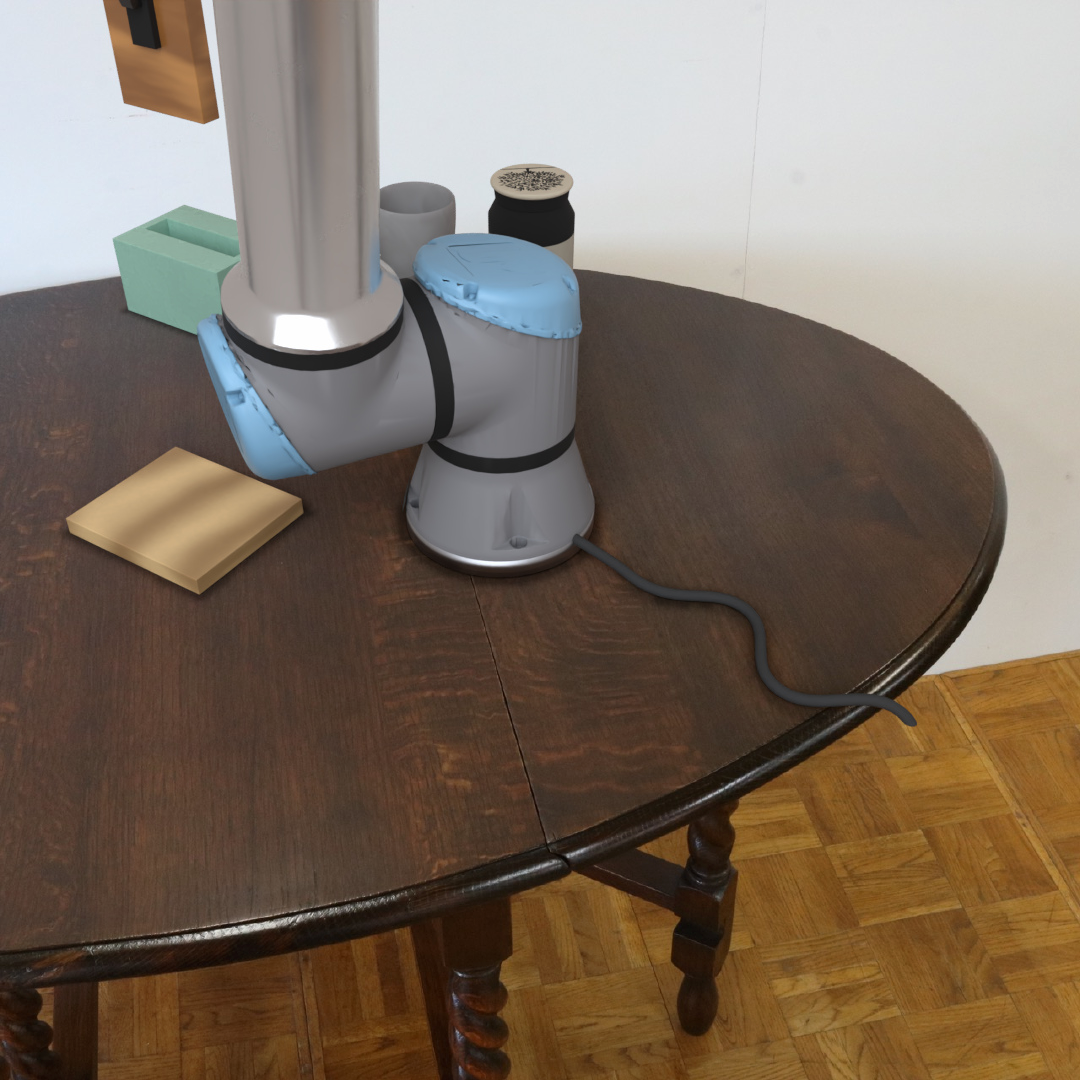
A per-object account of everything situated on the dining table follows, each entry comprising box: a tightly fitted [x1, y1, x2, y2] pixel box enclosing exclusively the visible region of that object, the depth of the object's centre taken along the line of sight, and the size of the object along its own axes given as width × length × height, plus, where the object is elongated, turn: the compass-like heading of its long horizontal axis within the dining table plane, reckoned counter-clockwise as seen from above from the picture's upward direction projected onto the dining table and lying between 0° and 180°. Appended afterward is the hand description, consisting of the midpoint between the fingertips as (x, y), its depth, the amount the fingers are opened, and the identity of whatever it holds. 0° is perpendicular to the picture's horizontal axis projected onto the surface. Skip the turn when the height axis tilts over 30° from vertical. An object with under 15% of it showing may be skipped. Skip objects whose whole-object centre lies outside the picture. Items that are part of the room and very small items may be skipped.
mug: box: [380, 181, 457, 279], centre depth 127 cm, size 12×9×10 cm
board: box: [65, 446, 304, 596], centre depth 95 cm, size 14×12×2 cm
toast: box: [102, 0, 220, 125], centre depth 103 cm, size 2×10×12 cm, turn 58°
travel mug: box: [487, 163, 576, 272], centre depth 112 cm, size 8×8×18 cm
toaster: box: [112, 204, 241, 336], centre depth 122 cm, size 10×16×8 cm, turn 59°
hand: (158, 41), depth 103 cm, fingers closed on toast, 2 cm apart
